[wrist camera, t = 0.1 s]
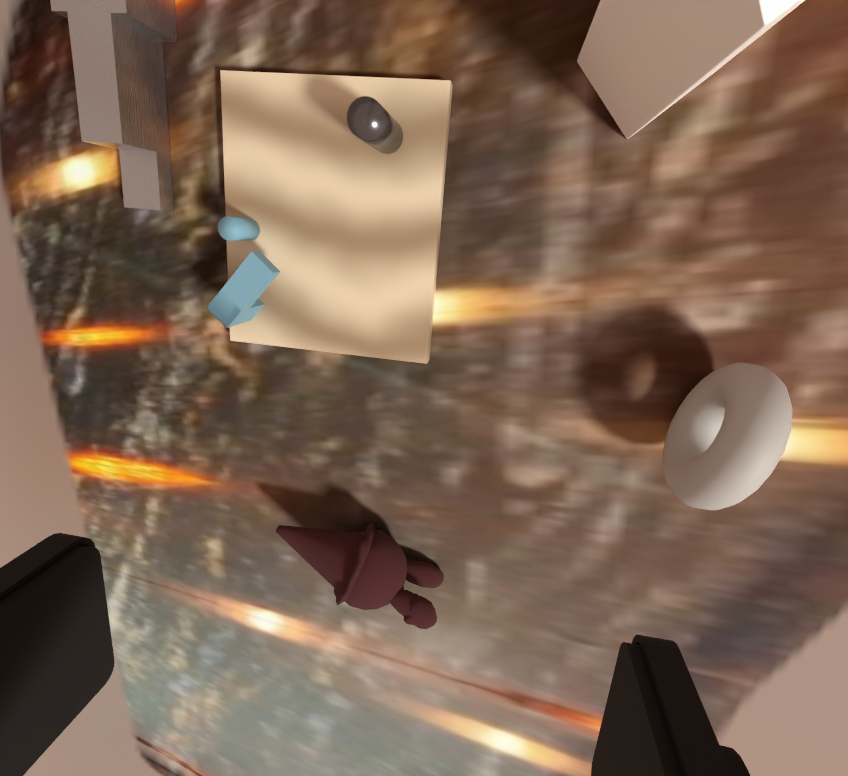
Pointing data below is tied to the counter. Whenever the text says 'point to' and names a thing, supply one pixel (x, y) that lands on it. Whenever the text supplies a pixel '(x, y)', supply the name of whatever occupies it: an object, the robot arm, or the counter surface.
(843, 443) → the counter surface
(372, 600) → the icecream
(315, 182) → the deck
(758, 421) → the donut
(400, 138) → the pintle
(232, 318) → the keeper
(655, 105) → the milk
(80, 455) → the counter surface
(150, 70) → the link
